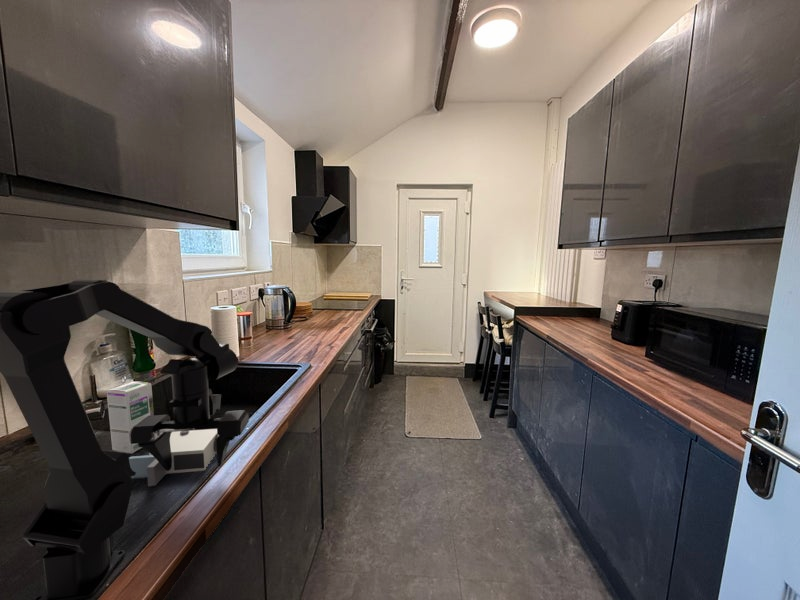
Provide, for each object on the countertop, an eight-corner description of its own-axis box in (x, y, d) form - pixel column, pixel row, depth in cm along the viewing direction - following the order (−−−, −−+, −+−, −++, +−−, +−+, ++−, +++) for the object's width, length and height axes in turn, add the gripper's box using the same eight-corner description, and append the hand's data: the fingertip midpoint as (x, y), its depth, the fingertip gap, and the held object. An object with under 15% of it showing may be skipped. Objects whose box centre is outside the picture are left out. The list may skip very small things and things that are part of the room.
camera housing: (209, 470, 65) (208, 447, 65) (150, 475, 63) (148, 452, 63) (227, 443, 75) (227, 423, 74) (176, 447, 73) (175, 427, 73)
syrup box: (131, 454, 70) (127, 391, 69) (110, 450, 71) (105, 389, 70) (156, 440, 76) (152, 382, 74) (136, 437, 77) (132, 380, 75)
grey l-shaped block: (155, 486, 59) (153, 466, 59) (116, 490, 58) (115, 469, 58) (167, 472, 64) (166, 454, 63) (131, 475, 62) (130, 456, 62)
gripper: (254, 374, 69) (257, 441, 71) (160, 377, 66) (165, 448, 68) (238, 394, 59) (241, 472, 60) (124, 399, 55) (130, 482, 57)
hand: (195, 467), depth 62 cm, fingers open, 9 cm apart
